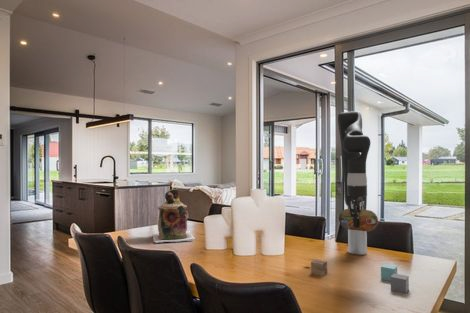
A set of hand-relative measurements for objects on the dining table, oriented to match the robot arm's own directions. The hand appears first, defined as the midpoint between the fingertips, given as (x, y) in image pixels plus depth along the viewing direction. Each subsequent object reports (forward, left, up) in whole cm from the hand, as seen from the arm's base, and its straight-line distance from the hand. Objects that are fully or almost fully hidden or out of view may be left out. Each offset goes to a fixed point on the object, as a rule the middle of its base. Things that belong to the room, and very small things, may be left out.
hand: (357, 226), depth 133 cm
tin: (0, 0, -1) cm, 2 cm away
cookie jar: (-5, -116, -21) cm, 118 cm away
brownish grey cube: (+4, -15, -21) cm, 26 cm away
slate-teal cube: (-7, +10, -21) cm, 24 cm away
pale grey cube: (+4, +16, -21) cm, 27 cm away
